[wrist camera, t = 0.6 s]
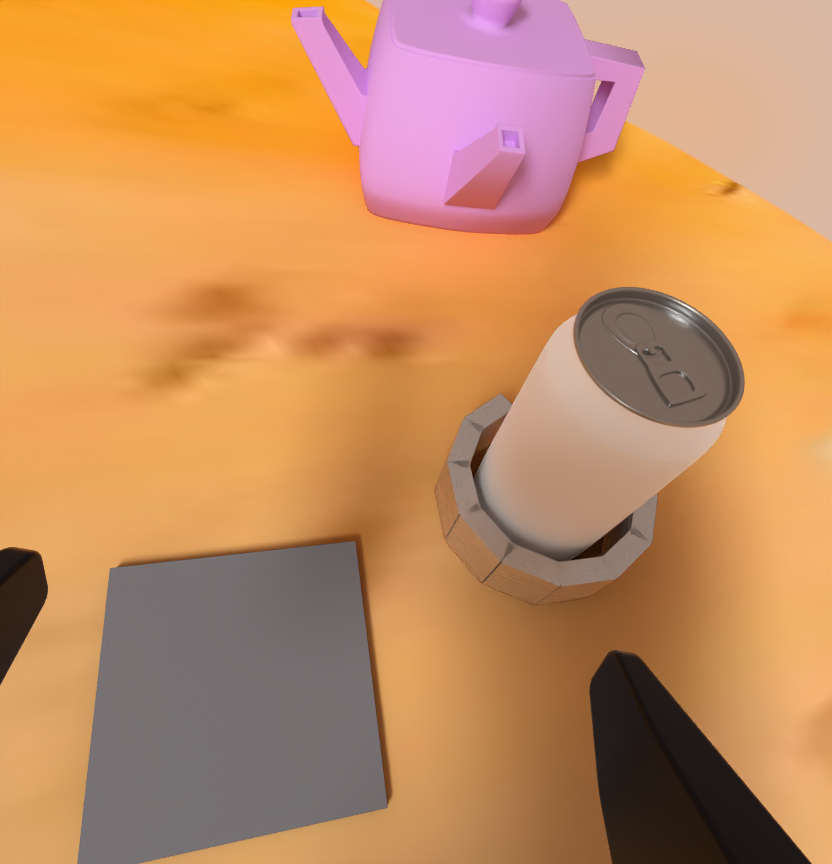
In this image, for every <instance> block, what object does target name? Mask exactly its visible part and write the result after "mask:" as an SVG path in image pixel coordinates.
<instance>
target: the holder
mask: <svg viewBox="0 0 832 864" xmlns="http://www.w3.org/2000/svg"><path fill="white" fill-rule="evenodd" d="M511 406H512V404H511V403H510V402H509V401H508V400H507V399H506V398H505V397H504V396H503V395H502V394H499V395H498V396H496V397H495V398H493V399H492V400H490V401H488V402H487V403H485V404H484V405H482V406H481V407H479V408H478V409H476V410H475V411H473V412H472V413H470V414H469V415H467V416H466V417H464V419H463V421H462V423H461V426H460V428H459V430H458V433H457V435H456V437H455V440H454V442H453V444H452V447H451V449H450V452H449V454H448V457H447V459H446V462H445V465H444V467H443V470H442V472H441V475H440V477H439V480H438V483H437V485H436V488H435V495H436V500H437V504H438V509H439V514H440V519H441V524H442V528H443V533H444V538H445V539H446V540H445V541H446V542H447V543H448V544H449V545H450V547H451V548H452V549H453V550H454V551H455V552H456V554H457V555H458V556H459V557H460V558H461V560H462V561H463V562H464V563H465V564H466V565H467V567H468V568H469V569H470V570H471V571H472V573H473V574H474V575H475V576H476V577H477V578H478V580H479V581H480V582H481V583H482V582H483V584H484V585H487V586H489V587H492V588H494V589H496V590H499V591H501V592H504V593H506V594H509V595H511V596H513V597H516V598H518V599H521V600H523V601H526V602H528V603H530V604H533V605H535V604H536V605H541V604H548V603H555V602H562V601H568V600H575V599H582V598H587V597H588V596H590V595H592V594H593V593H595V592H596V591H598V590H600V589H601V588H603V587H604V586H606V585H608V584H609V583H611V582H612V581H614V580H616V579H617V578H618V577H619V576H620V575H621V574H622V573H623V572H624V571H625V570H626V569H627V568H628V567H629V566H630V565H631V564H632V563H633V562H634V561H635V560H636V559H637V558H638V557H639V556H640V555H641V554H642V553H643V552H644V551H645V550H646V549H647V548H648V547H649V546H650V545H651V543H652V540H653V532H654V523H655V515H656V506H657V498H658V495H657V494H658V493H656V494H655V495H654V496H653V497H651V498H650V499H649V500H648V501H646V502H645V503H644V504H643V505H641V506H640V507H639V508H638V509H636V510H635V511H634V512H633V513H632V514H630V515H629V516H628V517H627V518H625V519H624V520H623V521H622V522H620V523H619V524H618V525H616V526H615V527H614V528H613V529H611V530H610V531H609V532H608V533H606V534H605V535H604V537H603V543H602V548H601V552H600V553H599V554H598V555H597V556H596V557H594V558H586V559H578V560H571V561H563V562H558V561H555V560H553V559H550V558H548V557H545V556H543V555H540V554H538V553H536V552H533V551H531V550H528V549H526V548H523V547H521V546H518V545H516V544H513V543H512V542H511V541H510V539H509V538H508V537H507V536H506V535H505V534H504V533H503V532H502V531H501V529H500V528H499V527H498V526H497V525H496V524H495V523H494V522H493V520H492V519H491V518H490V517H489V516H488V515H487V514H486V513H485V512H484V510H483V509H482V508H481V507H480V504H479V500H478V496H477V492H476V488H475V484H474V480H473V476H472V472H471V468H470V463H471V460H472V457H473V456H474V455H475V454H477V453H478V452H480V451H481V450H482V449H484V448H485V447H487V446H488V445H489V444H491V443H492V441H493V439H494V437H495V436H496V434H497V432H498V430H499V428H500V426H501V425H502V423H503V421H504V419H505V417H506V415H507V414H508V412H509V410H510V408H511Z"/></svg>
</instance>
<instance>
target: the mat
mask: <svg viewBox="0 0 832 864" xmlns="http://www.w3.org/2000/svg"><path fill="white" fill-rule="evenodd" d="M384 808H388V806H387V798H386V790H385V782H384V773H383V765H382V757H381V749H380V740H379V732H378V724H377V716H376V707H375V699H374V691H373V683H372V675H371V666H370V658H369V650H368V642H367V633H366V625H365V617H364V609H363V600H362V592H361V584H360V576H359V567H358V559H357V551H356V543H355V541H351V542H342V543H333V544H324V545H315V546H306V547H297V548H288V549H279V550H270V551H261V552H252V553H243V554H234V555H225V556H216V557H207V558H198V559H188V560H179V561H170V562H161V563H152V564H143V565H134V566H125V567H116V568H110V573H109V582H108V591H107V600H106V610H105V619H104V628H103V637H102V646H101V655H100V664H99V673H98V682H97V691H96V700H95V709H94V718H93V727H92V736H91V745H90V754H89V763H88V773H87V782H86V791H85V800H84V809H83V818H82V827H81V836H80V845H79V854H78V863H77V864H138V863H142V862H147V861H151V860H156V859H160V858H165V857H169V856H174V855H178V854H183V853H187V852H192V851H196V850H201V849H205V848H210V847H214V846H219V845H223V844H228V843H232V842H236V841H241V840H245V839H250V838H254V837H259V836H263V835H268V834H272V833H277V832H281V831H286V830H290V829H295V828H299V827H304V826H308V825H313V824H317V823H322V822H326V821H331V820H335V819H340V818H344V817H349V816H353V815H357V814H362V813H366V812H371V811H375V810H380V809H384Z"/></svg>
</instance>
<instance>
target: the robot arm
mask: <svg viewBox="0 0 832 864" xmlns="http://www.w3.org/2000/svg"><path fill="white" fill-rule="evenodd" d="M47 594H48V585H47V580H46V575H45V570H44V566H43V561H42V557H41V555H40V554H39V553H38V552H37V551H34V550H28V549H23V548H17V547H9V548H5V549H3V550H0V685H1V683H2V681H3V679H4V677H5V675H6V673H7V672H8V670H9V668H10V666H11V664H12V662H13V661H14V659H15V657H16V655H17V653H18V651H19V649H20V648H21V646H22V644H23V642H24V640H25V638H26V636H27V635H28V633H29V631H30V629H31V627H32V625H33V624H34V622H35V620H36V618H37V616H38V614H39V612H40V611H41V609H42V607H43V605H44V603H45V600H46V598H47ZM590 703H591V714H592V725H593V737H594V748H595V759H596V770H597V779H598V788H599V795H600V801H601V807H602V812H603V818H604V823H605V828H606V833H607V839H608V844H609V849H610V854H611V860H612V864H812V863H811V862H810V861H809V860H808V859H807V857H806V856H805V855H804V854H803V853H802V851H801V850H800V849H799V848H798V847H797V845H796V844H795V843H794V842H793V841H792V839H791V838H790V837H789V836H788V835H787V833H786V832H785V831H784V830H783V829H782V827H781V826H780V825H779V824H778V823H777V821H776V820H775V819H774V818H773V817H772V815H771V814H770V813H769V812H768V811H767V809H766V808H765V807H764V806H763V805H762V803H761V802H760V801H759V800H758V799H757V797H756V796H755V795H754V794H753V793H752V791H751V790H750V789H749V788H748V787H747V785H746V784H745V783H744V782H743V781H742V779H741V778H740V777H739V776H738V775H737V773H736V772H735V771H734V770H733V769H732V767H731V766H730V765H729V764H728V763H727V761H726V760H725V759H724V758H723V757H722V755H721V754H720V753H719V752H718V751H717V749H716V748H715V747H714V746H713V745H712V743H711V742H710V741H709V740H708V739H707V737H706V736H705V735H704V734H703V733H702V731H701V730H700V729H699V728H698V727H697V725H696V724H695V723H694V722H693V720H692V719H691V718H690V717H689V716H688V714H687V713H686V712H685V711H684V710H683V708H682V707H681V706H680V705H679V704H678V702H677V701H676V700H675V699H674V698H673V696H672V695H671V694H670V693H669V692H668V690H667V689H666V688H665V687H664V686H663V684H662V683H661V682H660V681H659V680H658V678H657V677H656V676H655V675H654V674H653V672H652V671H651V670H650V669H649V668H648V666H647V665H646V664H645V663H644V662H643V660H642V659H641V658H640V657H639V656H637V655H636V654H634V653H630V652H624V651H618V650H612V651H610V652H609V653H608V654H607V655H606V657H605V659H604V660H603V662H602V663H601V665H600V666H599V668H598V669H597V671H596V672H595V674H594V676H593V677H592V680H591V683H590Z"/></svg>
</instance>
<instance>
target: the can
mask: <svg viewBox="0 0 832 864" xmlns="http://www.w3.org/2000/svg"><path fill="white" fill-rule="evenodd" d="M744 384H745V380H744V372H743V368H742V364H741V361H740V359H739V356H738V354H737V352H736V350H735V349H734V347H733V345H732V344H731V342H730V341H729V340H728V338H727V337H726V336H725V334H724V333H723V332H722V331H721V330H720V329H719V328H718V327H717V326H716V325H715V324H714V323H713V322H712V321H711V320H710V319H709V318H707V317H706V316H705V315H704V314H702V313H701V312H699V311H698V310H696V309H695V308H693V307H692V306H690V305H688V304H687V303H685V302H683V301H681V300H679V299H677V298H675V297H672V296H670V295H667V294H664V293H661V292H658V291H654V290H650V289H645V288H637V287H620V288H613V289H609V290H605V291H602V292H600V293H598V294H596V295H594V296H593V297H591V298H590V299H589V300H587V301H586V302H585V303H584V304H583V306H582V307H581V308H580V310H579V312H578V314H576V315H574V316H572V317H571V318H569V319H568V320H566V321H565V322H564V323H563V324H561V325H560V326H559V327H558V328H557V329H556V331H555V332H554V333H553V334H552V336H551V337H550V339H549V340H548V342H547V344H546V345H545V347H544V349H543V350H542V352H541V354H540V356H539V357H538V359H537V361H536V363H535V364H534V366H533V368H532V370H531V372H530V373H529V375H528V377H527V379H526V381H525V382H524V384H523V386H522V388H521V390H520V392H519V393H518V395H517V397H516V399H515V401H514V403H513V404H512V406H511V408H510V410H509V412H508V414H507V415H506V417H505V419H504V421H503V423H502V425H501V426H500V428H499V430H498V432H497V434H496V436H495V437H494V439H493V441H492V443H491V445H490V447H489V449H488V450H487V452H486V454H485V456H484V458H483V460H482V462H481V464H480V466H479V468H478V470H477V472H476V474H475V477H474V484H475V488H476V492H477V496H478V500H479V504H480V507H481V508H482V509H483V510H484V512H485V513H486V514H487V515H488V516H489V517H490V518H491V519H492V520H493V522H494V523H495V524H496V525H497V526H498V527H499V528H500V529H501V531H502V532H503V533H504V534H505V535H506V536H507V537H508V538H509V539H510V541H511V542H512V543H513V544H516V545H518V546H521V547H523V548H526V549H528V550H531V551H533V552H536V553H538V554H540V555H543V556H545V557H548V558H550V559H553V560H555V561H558V562H563V561H569V560H571V559H573V558H575V557H576V556H578V555H579V554H581V553H582V552H583V551H585V550H586V549H587V548H589V547H590V546H591V545H593V544H594V543H595V542H596V541H598V540H599V539H600V538H601V537H603V536H604V535H605V534H606V533H608V532H609V531H610V530H611V529H613V528H614V527H615V526H616V525H618V524H619V523H620V522H622V521H623V520H624V519H625V518H627V517H628V516H629V515H630V514H632V513H633V512H634V511H635V510H636V509H638V508H639V507H640V506H641V505H643V504H644V503H645V502H646V501H648V500H649V499H650V498H651V497H653V496H654V495H655V494H656V493H658V492H659V491H660V490H661V489H663V488H664V487H665V486H666V485H667V484H669V483H670V482H671V481H672V480H674V479H675V478H676V477H677V476H679V475H680V474H681V473H682V472H683V471H685V470H686V469H687V468H688V467H689V466H691V465H692V464H693V463H694V462H695V461H697V460H698V459H699V458H700V457H701V456H702V455H703V454H705V453H706V452H707V451H708V450H709V449H710V448H711V447H712V446H713V444H714V443H715V442H716V441H717V439H718V438H719V436H720V434H721V432H722V430H723V428H724V425H725V422H726V419H727V416H729V415H730V414H731V413H732V412H733V411H734V410H735V409H736V408H737V406H738V405H739V403H740V401H741V399H742V396H743V392H744Z"/></svg>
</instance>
